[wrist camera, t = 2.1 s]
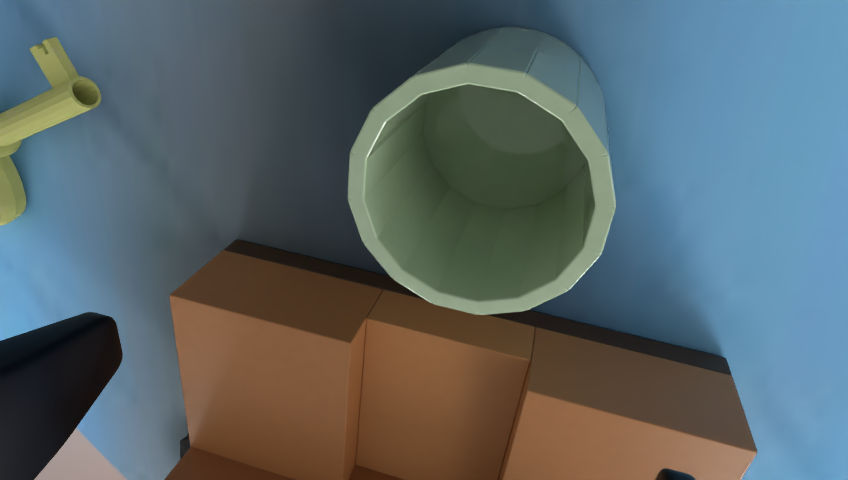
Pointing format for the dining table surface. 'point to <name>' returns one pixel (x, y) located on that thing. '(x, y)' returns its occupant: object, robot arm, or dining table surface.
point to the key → (40, 118)
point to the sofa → (429, 385)
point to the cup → (487, 174)
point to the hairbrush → (184, 445)
